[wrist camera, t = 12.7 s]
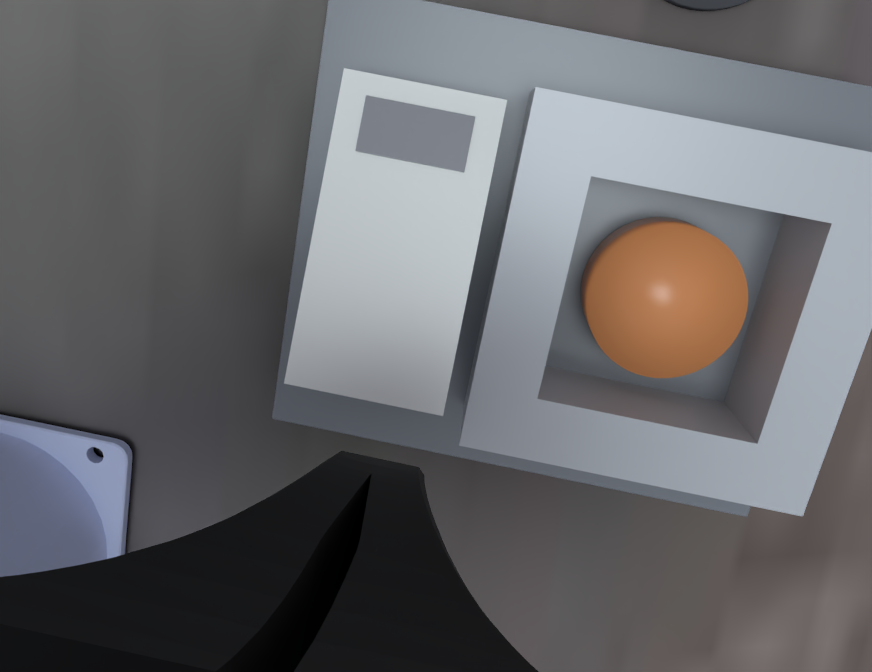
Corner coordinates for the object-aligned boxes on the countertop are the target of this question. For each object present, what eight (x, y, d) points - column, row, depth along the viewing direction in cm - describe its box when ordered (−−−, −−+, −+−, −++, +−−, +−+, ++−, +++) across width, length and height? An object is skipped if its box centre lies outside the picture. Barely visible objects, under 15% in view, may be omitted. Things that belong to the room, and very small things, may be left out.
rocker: (295, 377, 18) (283, 384, 17) (352, 83, 18) (342, 66, 16) (444, 408, 18) (442, 417, 17) (504, 113, 18) (507, 98, 16)
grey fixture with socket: (291, 393, 22) (240, 459, 18) (347, -4, 19) (302, -41, 15) (725, 482, 22) (782, 572, 18) (853, 93, 19) (960, 85, 15)
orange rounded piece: (565, 344, 19) (571, 361, 18) (600, 203, 18) (608, 210, 17) (706, 372, 19) (722, 392, 18) (749, 232, 18) (769, 242, 17)
